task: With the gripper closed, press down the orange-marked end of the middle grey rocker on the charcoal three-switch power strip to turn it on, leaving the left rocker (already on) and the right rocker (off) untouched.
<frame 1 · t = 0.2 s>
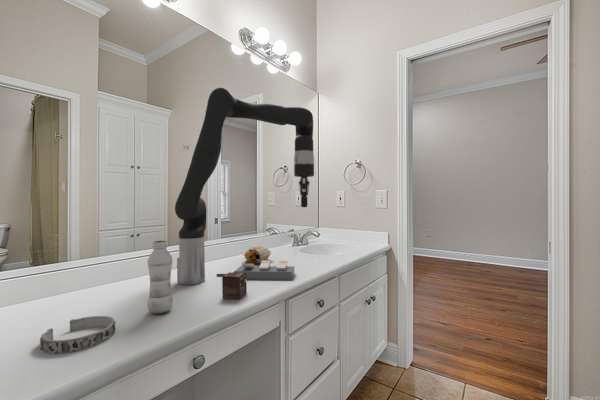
hand: (304, 206, 109), 28 cm above the counter, tool pointing down, fingers open, 8 cm apart
plastic bottle: (160, 312, 82), on the counter
bracelet: (80, 340, 67), on the counter
rocker left: (248, 265, 118), point 4 cm above the counter, hinge at -15.0°
rocker right: (282, 265, 117), point 4 cm above the counter, hinge at 15.0°
nautilus: (253, 263, 143), on the counter
rocker middle: (265, 265, 118), point 4 cm above the counter, hinge at 15.0°
box: (234, 297, 94), on the counter
power strip: (265, 276, 118), on the counter
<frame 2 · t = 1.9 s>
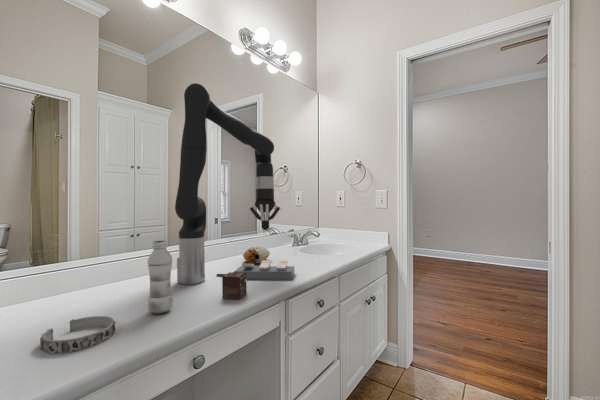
hand: (265, 229, 119), 19 cm above the counter, tool pointing down, fingers closed
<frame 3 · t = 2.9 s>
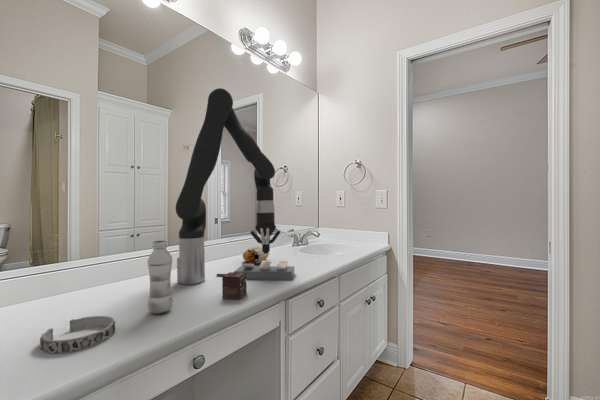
hand: (266, 253, 119), 9 cm above the counter, tool pointing down, fingers closed
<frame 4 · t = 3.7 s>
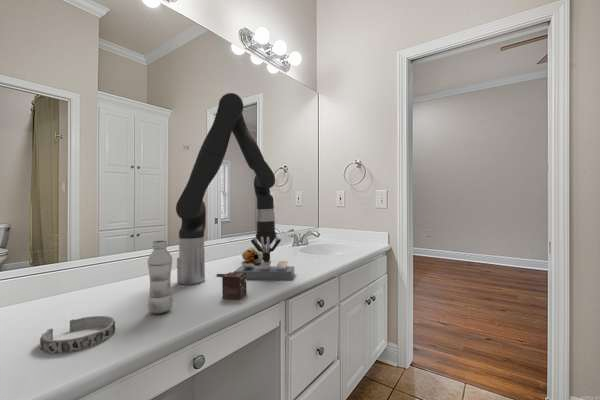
hand: (266, 261, 120), 6 cm above the counter, tool pointing down, fingers closed
rocker middle: (265, 265, 118), point 4 cm above the counter, hinge at 14.4°, touching gripper
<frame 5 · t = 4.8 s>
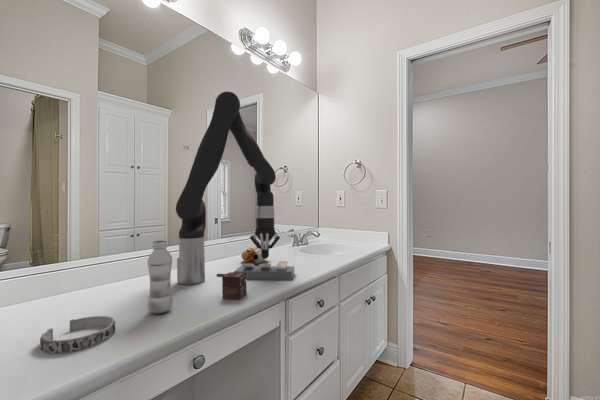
hand: (265, 258, 120), 7 cm above the counter, tool pointing down, fingers closed
rocker middle: (265, 265, 117), point 4 cm above the counter, hinge at -11.3°
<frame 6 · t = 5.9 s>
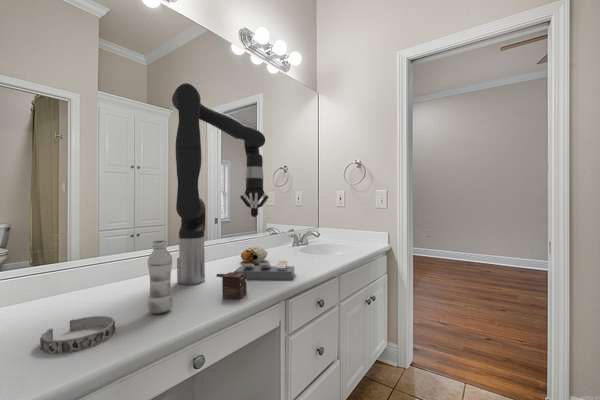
hand: (254, 216, 127), 24 cm above the counter, tool pointing down, fingers closed
rocker middle: (265, 265, 117), point 4 cm above the counter, hinge at -20.8°, touching power strip
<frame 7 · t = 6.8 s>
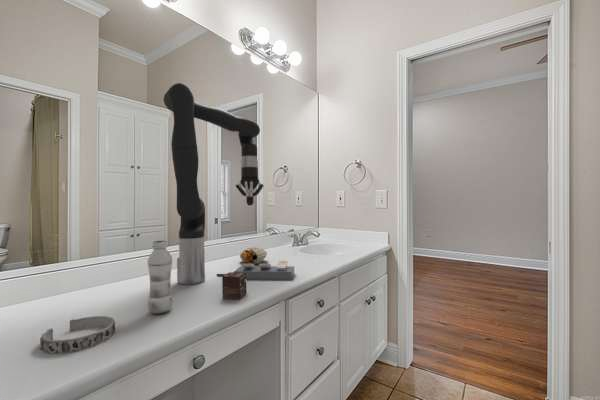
hand: (250, 205, 130), 29 cm above the counter, tool pointing down, fingers closed
rocker middle: (265, 265, 117), point 4 cm above the counter, hinge at -16.0°
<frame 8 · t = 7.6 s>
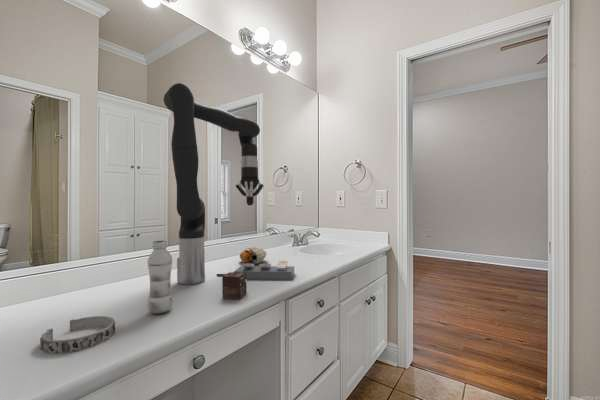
hand: (250, 205, 130), 29 cm above the counter, tool pointing down, fingers closed
rocker middle: (265, 265, 117), point 4 cm above the counter, hinge at -12.9°
at the end: rocker middle at -13° (first picture: +15°); rocker left at -15° (first picture: -15°); rocker right at +15° (first picture: +15°) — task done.
